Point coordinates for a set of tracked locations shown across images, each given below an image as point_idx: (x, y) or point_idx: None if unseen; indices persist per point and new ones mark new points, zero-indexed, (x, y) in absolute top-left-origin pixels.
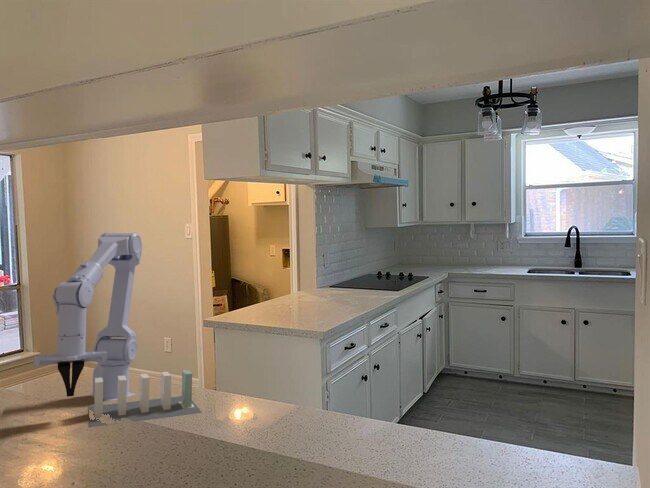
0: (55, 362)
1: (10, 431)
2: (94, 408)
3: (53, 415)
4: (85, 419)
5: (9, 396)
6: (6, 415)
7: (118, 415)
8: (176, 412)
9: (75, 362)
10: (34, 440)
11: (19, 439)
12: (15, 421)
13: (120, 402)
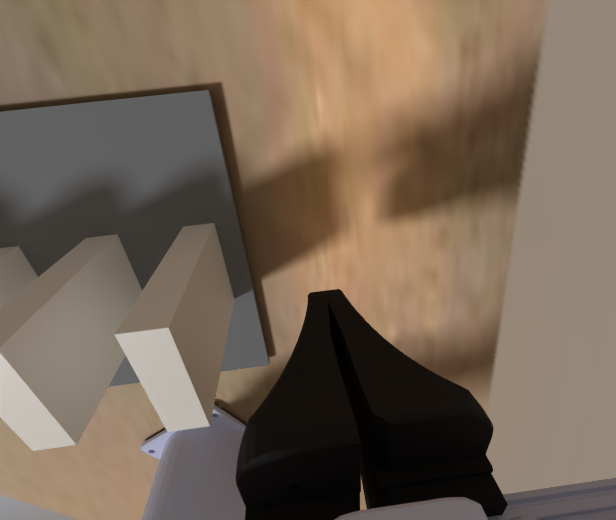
0: (525, 512)
1: (505, 188)
2: (219, 277)
3: (369, 324)
4: (257, 253)
5: None
6: (493, 353)
7: (118, 235)
8: None
9: (331, 515)
10: (435, 5)
11: (489, 55)
12: (477, 294)
13: (79, 263)
